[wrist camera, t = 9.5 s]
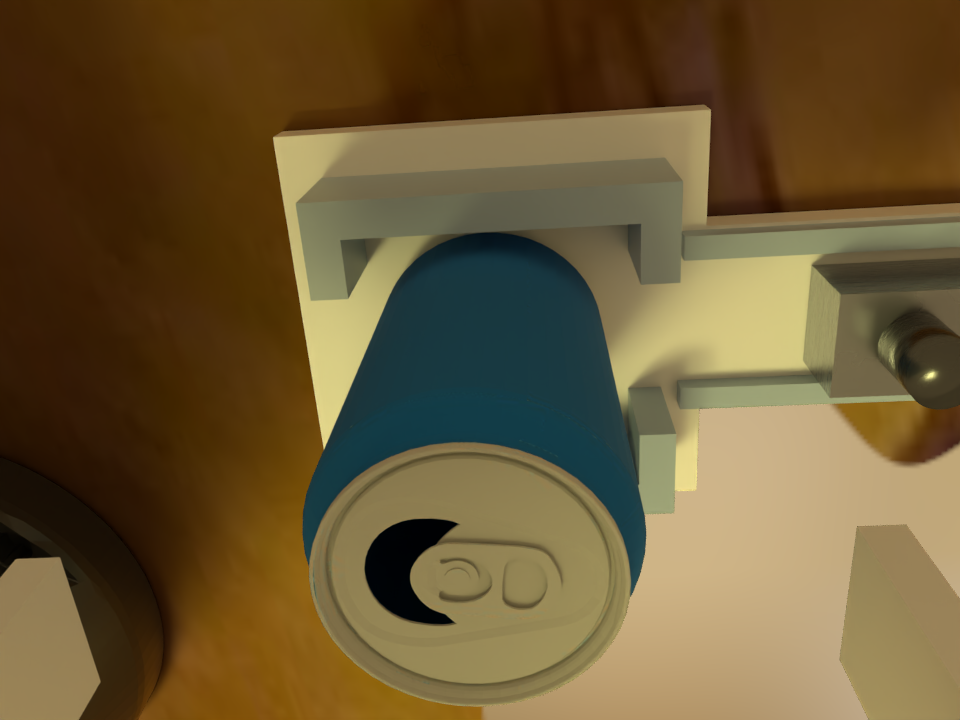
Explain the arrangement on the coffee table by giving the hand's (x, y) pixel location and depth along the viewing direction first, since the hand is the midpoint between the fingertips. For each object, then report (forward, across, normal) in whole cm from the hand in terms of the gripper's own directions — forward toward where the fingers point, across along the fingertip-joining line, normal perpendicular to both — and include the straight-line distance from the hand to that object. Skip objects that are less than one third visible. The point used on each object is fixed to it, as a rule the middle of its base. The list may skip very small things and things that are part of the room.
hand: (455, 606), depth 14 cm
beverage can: (+13, 0, 0) cm, 13 cm away
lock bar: (+12, +13, 0) cm, 18 cm away
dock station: (+14, +5, 0) cm, 15 cm away
